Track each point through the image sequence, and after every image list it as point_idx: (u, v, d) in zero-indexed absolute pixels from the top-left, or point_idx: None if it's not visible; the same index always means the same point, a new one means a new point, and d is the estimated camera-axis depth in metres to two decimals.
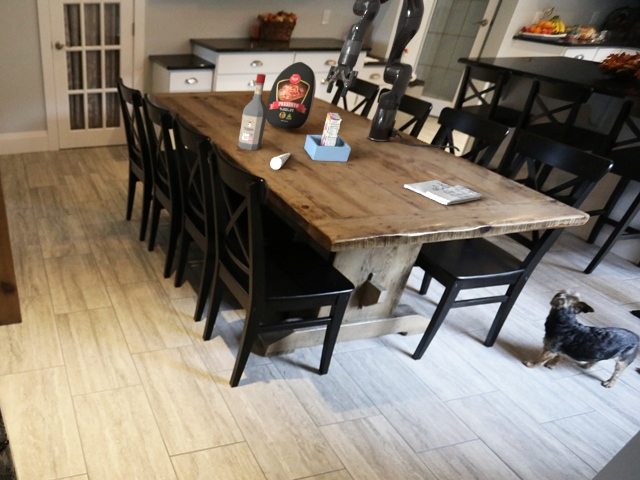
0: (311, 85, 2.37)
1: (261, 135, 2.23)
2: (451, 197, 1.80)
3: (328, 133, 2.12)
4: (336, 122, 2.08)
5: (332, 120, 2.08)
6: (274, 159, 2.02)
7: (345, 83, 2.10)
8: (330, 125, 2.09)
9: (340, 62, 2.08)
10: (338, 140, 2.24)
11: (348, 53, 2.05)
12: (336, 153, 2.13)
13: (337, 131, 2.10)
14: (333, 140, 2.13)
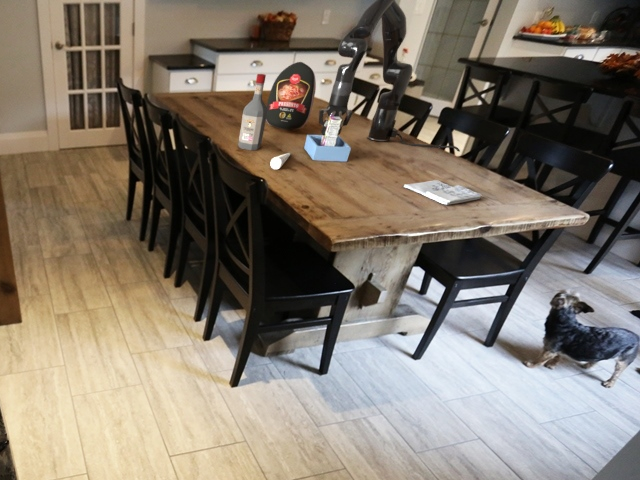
0: (311, 85, 2.37)
1: (261, 135, 2.23)
2: (451, 197, 1.80)
3: (328, 133, 2.12)
4: (336, 122, 2.08)
5: (332, 120, 2.08)
6: (274, 159, 2.02)
7: None
8: (331, 125, 2.09)
9: (340, 105, 2.06)
10: (338, 140, 2.24)
11: (347, 95, 2.04)
12: (336, 153, 2.13)
13: (337, 131, 2.10)
14: (334, 140, 2.13)
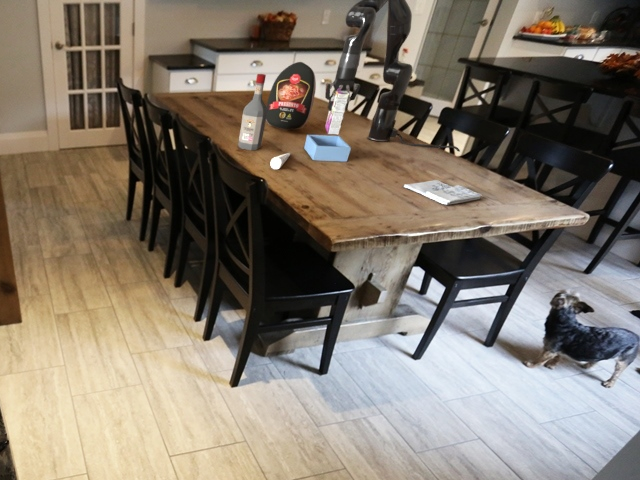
0: (311, 85, 2.37)
1: (261, 135, 2.23)
2: (451, 197, 1.80)
3: (335, 108, 2.05)
4: (343, 96, 2.02)
5: (339, 94, 2.02)
6: (274, 159, 2.02)
7: (348, 98, 2.06)
8: (338, 99, 2.03)
9: (348, 78, 2.00)
10: (338, 140, 2.24)
11: (355, 67, 1.98)
12: (336, 153, 2.13)
13: (344, 106, 2.04)
14: (341, 115, 2.07)
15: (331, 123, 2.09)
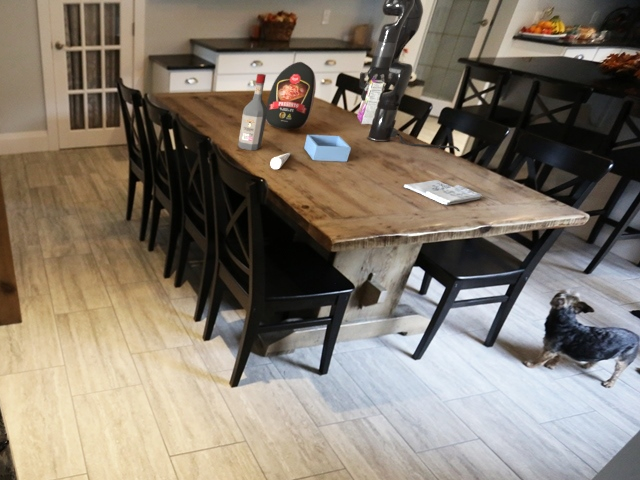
0: (311, 85, 2.37)
1: (261, 135, 2.23)
2: (451, 197, 1.80)
3: (369, 97, 2.03)
4: (378, 85, 2.00)
5: (374, 83, 2.00)
6: (274, 159, 2.02)
7: None
8: (372, 88, 2.01)
9: (383, 67, 1.98)
10: (338, 140, 2.24)
11: (391, 56, 1.96)
12: (336, 153, 2.13)
13: (379, 95, 2.02)
14: (375, 105, 2.05)
15: (364, 113, 2.07)
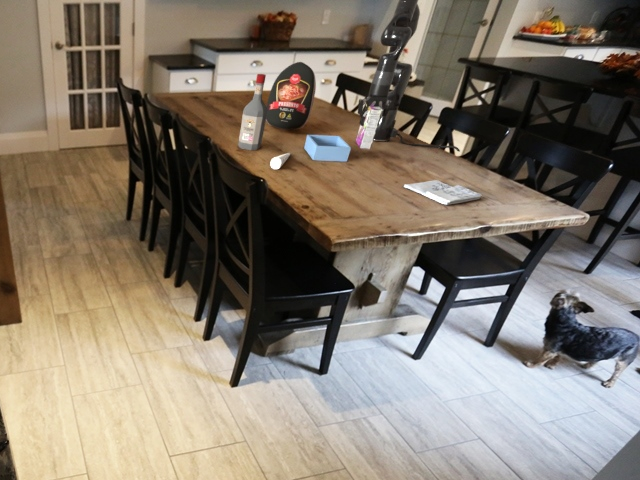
0: (311, 85, 2.37)
1: (261, 135, 2.23)
2: (451, 197, 1.80)
3: (368, 123, 2.10)
4: (376, 112, 2.06)
5: (372, 110, 2.06)
6: (274, 159, 2.02)
7: None
8: (371, 115, 2.08)
9: (381, 94, 2.04)
10: (338, 140, 2.24)
11: (389, 84, 2.02)
12: (336, 153, 2.13)
13: (377, 121, 2.08)
14: (373, 131, 2.11)
15: (363, 138, 2.13)
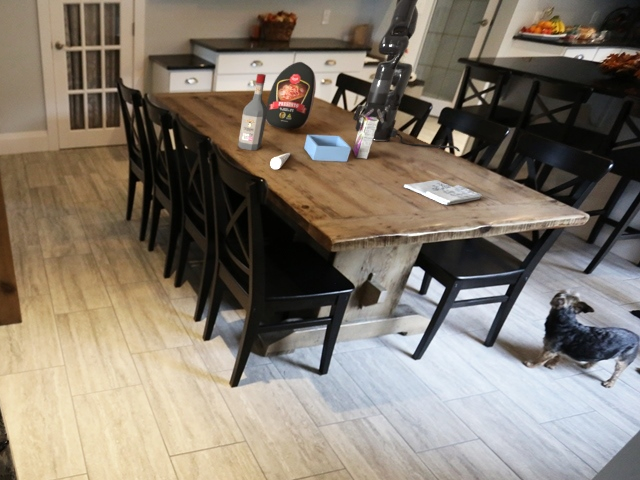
0: (311, 85, 2.37)
1: (261, 135, 2.23)
2: (451, 197, 1.80)
3: (364, 133, 2.12)
4: (373, 122, 2.09)
5: (369, 120, 2.09)
6: (274, 159, 2.02)
7: (382, 119, 2.12)
8: (367, 125, 2.10)
9: (379, 102, 2.06)
10: (338, 140, 2.24)
11: (387, 93, 2.04)
12: (336, 153, 2.13)
13: (374, 131, 2.11)
14: (370, 141, 2.13)
15: (360, 148, 2.16)
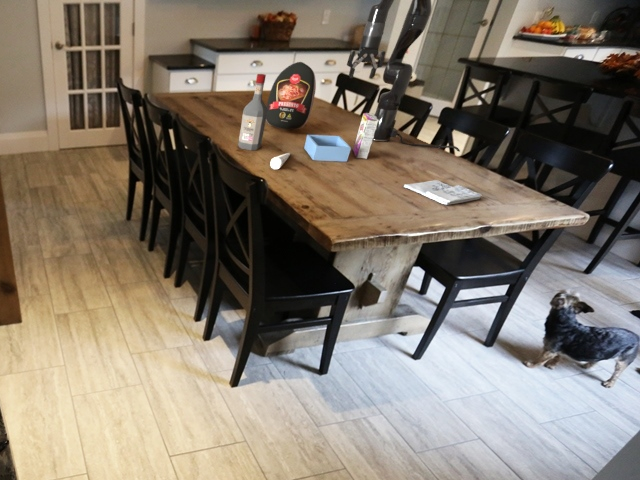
0: (311, 85, 2.37)
1: (261, 135, 2.23)
2: (451, 197, 1.80)
3: (364, 133, 2.12)
4: (373, 122, 2.09)
5: (369, 120, 2.09)
6: (274, 159, 2.02)
7: (375, 65, 2.11)
8: (367, 125, 2.10)
9: (372, 46, 2.04)
10: (338, 140, 2.24)
11: (380, 36, 2.02)
12: (336, 153, 2.13)
13: (374, 131, 2.11)
14: (370, 141, 2.13)
15: (360, 148, 2.16)
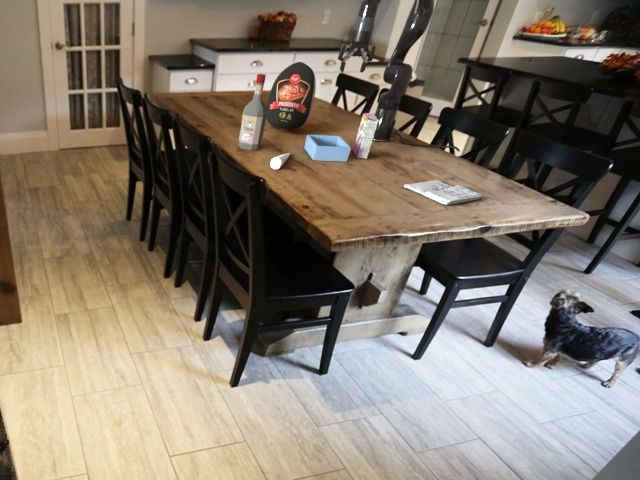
0: (311, 85, 2.37)
1: (261, 135, 2.23)
2: (451, 197, 1.80)
3: (364, 133, 2.12)
4: (373, 122, 2.09)
5: (369, 120, 2.09)
6: (274, 159, 2.02)
7: (365, 59, 2.15)
8: (367, 125, 2.10)
9: (363, 40, 2.09)
10: (338, 140, 2.24)
11: (370, 30, 2.07)
12: (336, 153, 2.13)
13: (374, 131, 2.11)
14: (370, 141, 2.13)
15: (360, 148, 2.16)
